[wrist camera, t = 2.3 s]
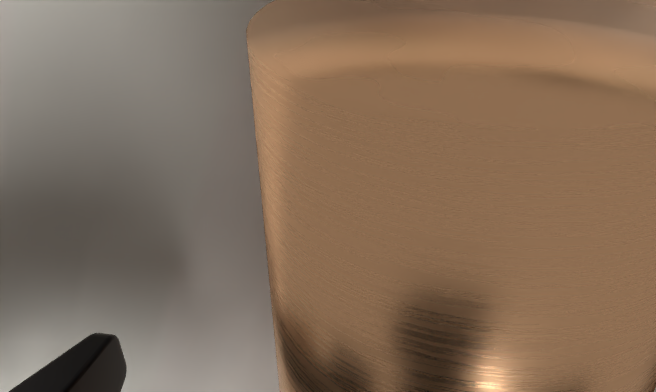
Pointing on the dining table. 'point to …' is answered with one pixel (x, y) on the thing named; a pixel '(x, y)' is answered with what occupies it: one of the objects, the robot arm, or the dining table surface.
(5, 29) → the dining table surface
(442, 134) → the tan rounded oblong piece
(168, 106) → the dining table surface
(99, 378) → the robot arm
